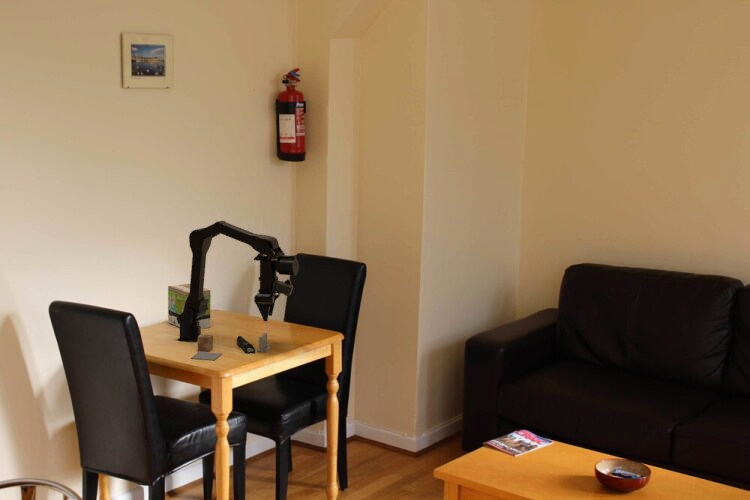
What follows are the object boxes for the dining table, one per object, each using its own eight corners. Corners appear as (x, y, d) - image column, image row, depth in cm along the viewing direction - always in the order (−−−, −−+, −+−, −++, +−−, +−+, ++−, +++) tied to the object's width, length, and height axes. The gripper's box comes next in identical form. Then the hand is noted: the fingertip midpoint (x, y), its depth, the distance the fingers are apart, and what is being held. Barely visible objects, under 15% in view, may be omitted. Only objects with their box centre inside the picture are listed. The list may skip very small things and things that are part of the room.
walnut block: (197, 351, 314) (197, 336, 313) (201, 348, 318) (201, 334, 317) (209, 352, 313) (209, 337, 313) (212, 349, 317) (213, 334, 316)
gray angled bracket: (257, 351, 316) (258, 337, 315) (263, 346, 323) (263, 332, 322) (266, 352, 315) (266, 338, 315) (271, 347, 322) (271, 333, 321)
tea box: (166, 323, 352) (167, 285, 350) (190, 320, 359) (190, 282, 357) (187, 331, 341) (188, 291, 339) (211, 327, 348) (211, 289, 346)
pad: (190, 358, 304) (190, 357, 304) (198, 352, 312) (198, 351, 312) (214, 360, 303) (214, 359, 303) (221, 354, 311) (221, 353, 311)
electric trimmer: (244, 343, 328) (244, 334, 328) (255, 353, 314) (256, 344, 314) (234, 344, 327) (234, 335, 326) (245, 354, 313) (245, 345, 312)
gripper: (287, 278, 308) (287, 325, 310) (295, 270, 326) (295, 313, 329) (253, 278, 309) (254, 324, 311) (264, 269, 327) (264, 312, 329)
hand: (268, 318), depth 320 cm, fingers open, 9 cm apart
